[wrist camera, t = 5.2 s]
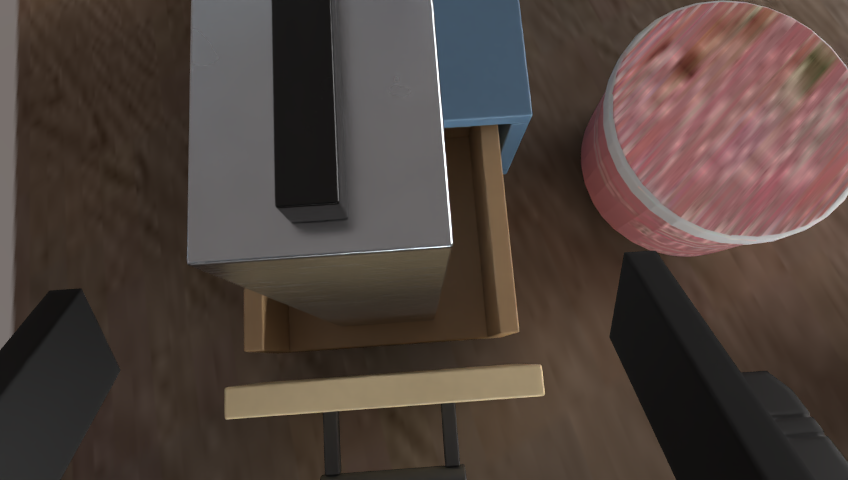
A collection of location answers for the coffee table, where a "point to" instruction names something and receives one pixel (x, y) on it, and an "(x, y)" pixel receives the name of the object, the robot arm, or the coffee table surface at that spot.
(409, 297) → the silver box
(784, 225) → the container
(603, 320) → the coffee table surface
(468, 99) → the cabinet
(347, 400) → the drawer
